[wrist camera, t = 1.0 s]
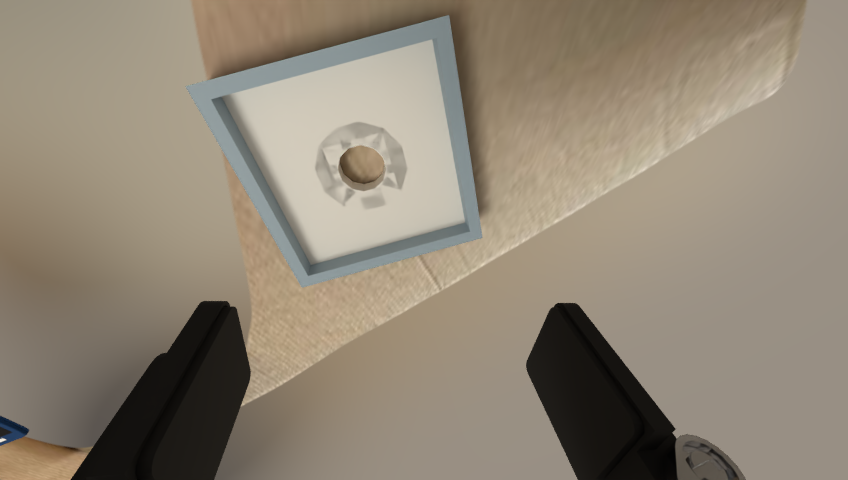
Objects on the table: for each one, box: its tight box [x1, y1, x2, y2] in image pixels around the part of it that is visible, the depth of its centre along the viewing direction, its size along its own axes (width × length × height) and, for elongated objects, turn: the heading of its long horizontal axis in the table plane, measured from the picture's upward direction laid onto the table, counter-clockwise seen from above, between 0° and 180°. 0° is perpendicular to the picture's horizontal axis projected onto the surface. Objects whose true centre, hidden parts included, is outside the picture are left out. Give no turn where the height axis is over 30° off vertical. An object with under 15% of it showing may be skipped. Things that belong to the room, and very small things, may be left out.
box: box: [186, 15, 482, 287], centre depth 30 cm, size 20×20×4 cm
